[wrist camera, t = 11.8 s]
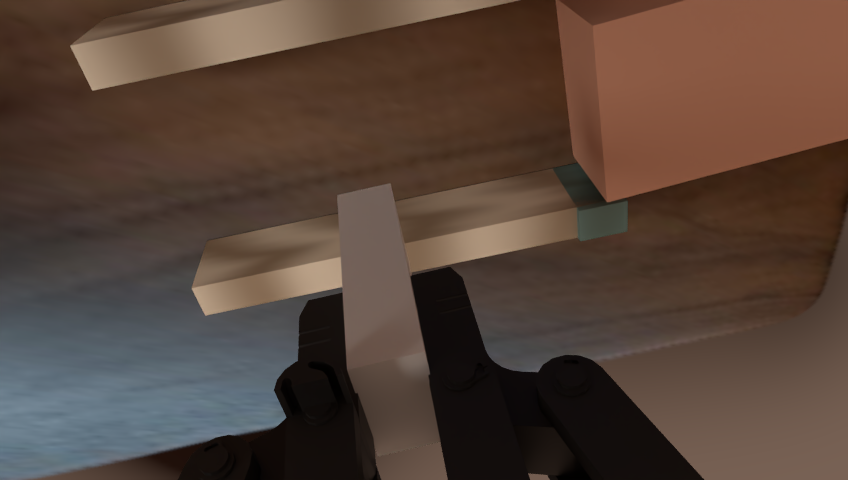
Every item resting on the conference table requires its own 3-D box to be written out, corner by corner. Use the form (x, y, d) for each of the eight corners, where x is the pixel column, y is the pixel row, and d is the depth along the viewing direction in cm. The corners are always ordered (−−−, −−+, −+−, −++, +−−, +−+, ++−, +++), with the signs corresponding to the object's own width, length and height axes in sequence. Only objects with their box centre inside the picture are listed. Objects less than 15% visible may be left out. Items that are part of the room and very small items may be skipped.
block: (571, 153, 28) (607, 202, 24) (553, -4, 24) (592, 26, 20) (789, 94, 28) (860, 135, 24) (806, -75, 24) (894, -58, 20)
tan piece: (218, 266, 29) (203, 320, 26) (105, 17, 22) (66, 48, 19) (595, 187, 29) (627, 231, 26) (590, -85, 22) (632, -72, 19)
